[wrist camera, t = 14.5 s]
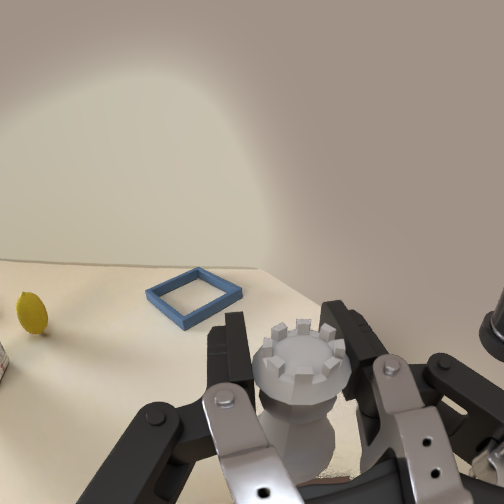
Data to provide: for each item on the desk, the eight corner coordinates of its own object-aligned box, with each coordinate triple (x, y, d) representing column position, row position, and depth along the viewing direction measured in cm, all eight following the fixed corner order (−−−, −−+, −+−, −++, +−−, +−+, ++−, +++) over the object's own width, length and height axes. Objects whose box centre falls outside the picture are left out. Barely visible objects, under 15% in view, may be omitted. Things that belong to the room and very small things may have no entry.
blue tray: (199, 274, 52) (198, 266, 51) (242, 297, 44) (242, 288, 44) (147, 299, 44) (144, 290, 43) (184, 331, 37) (182, 321, 36)
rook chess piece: (322, 494, 8) (375, 413, 5) (231, 475, 10) (203, 380, 7) (338, 424, 12) (374, 310, 9) (260, 410, 14) (257, 295, 10)
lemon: (26, 346, 30) (5, 304, 27) (32, 326, 35) (14, 287, 32) (52, 341, 33) (32, 298, 29) (56, 321, 37) (39, 281, 34)
